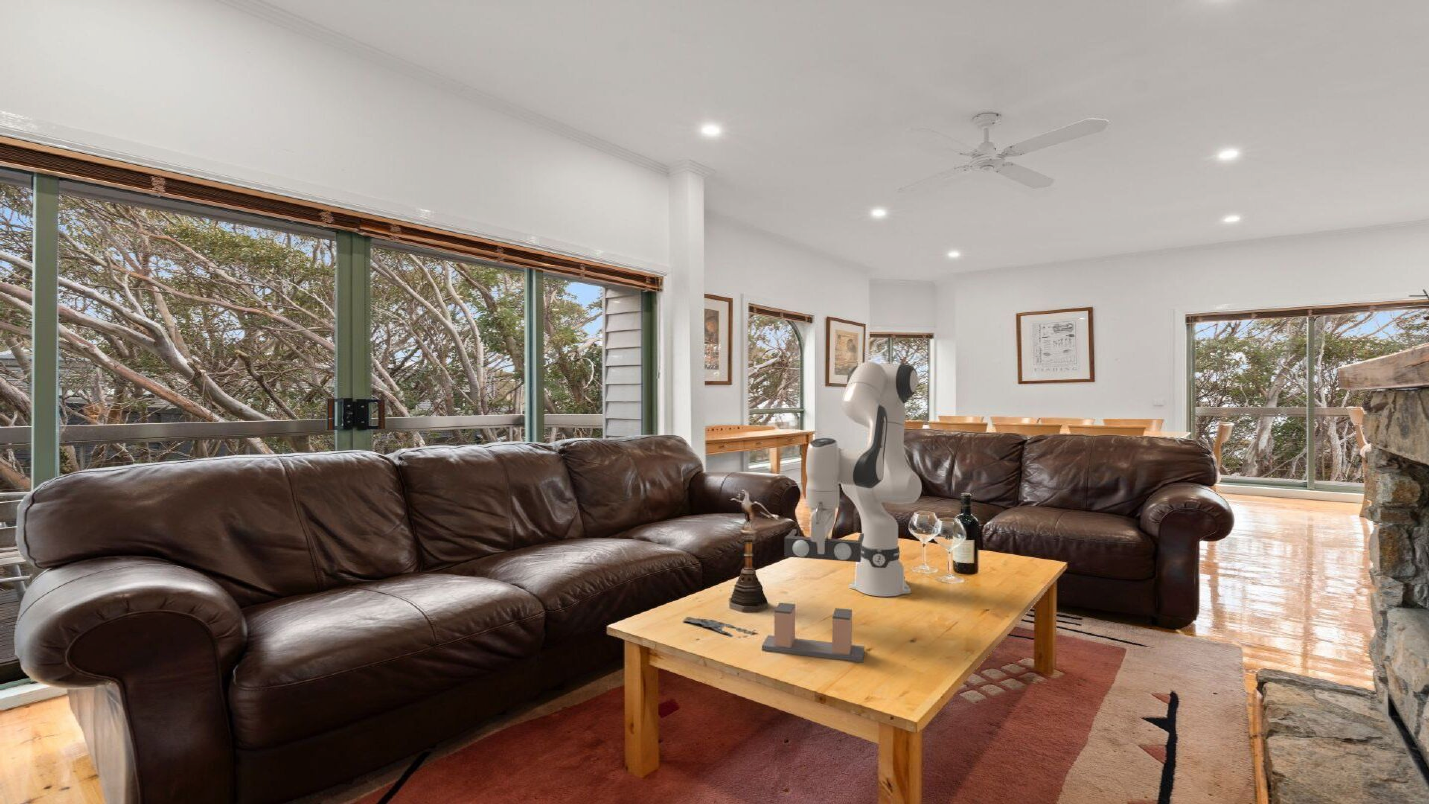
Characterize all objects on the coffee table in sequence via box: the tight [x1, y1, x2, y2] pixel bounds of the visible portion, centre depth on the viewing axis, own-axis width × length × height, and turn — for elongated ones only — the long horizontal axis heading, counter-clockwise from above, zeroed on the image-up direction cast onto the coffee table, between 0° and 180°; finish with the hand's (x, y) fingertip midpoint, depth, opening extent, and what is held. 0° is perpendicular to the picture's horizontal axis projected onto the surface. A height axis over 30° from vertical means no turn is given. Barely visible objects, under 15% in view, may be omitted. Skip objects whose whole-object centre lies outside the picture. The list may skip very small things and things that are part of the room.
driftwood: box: [682, 616, 757, 639], centre depth 176 cm, size 21×7×2 cm, turn 50°
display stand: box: [761, 602, 866, 663], centre depth 160 cm, size 7×24×10 cm, turn 73°
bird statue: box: [728, 481, 780, 613], centre depth 195 cm, size 17×13×35 cm
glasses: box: [783, 528, 864, 563], centre depth 179 cm, size 14×20×5 cm
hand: (822, 551), depth 175 cm, fingers closed on glasses, 3 cm apart
